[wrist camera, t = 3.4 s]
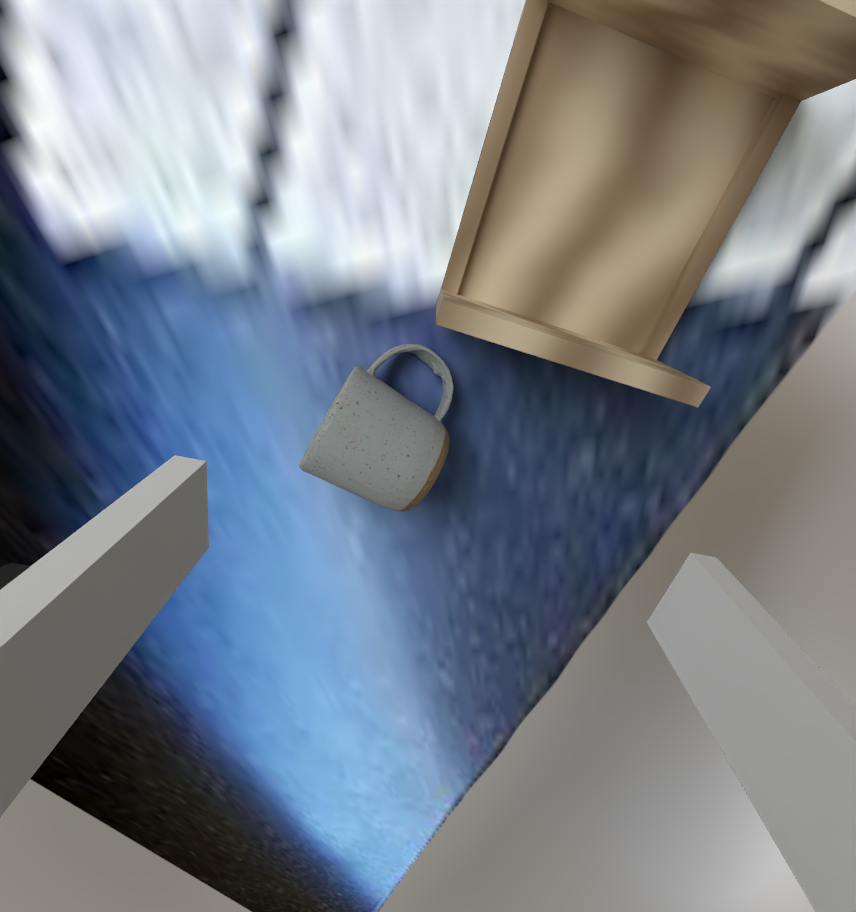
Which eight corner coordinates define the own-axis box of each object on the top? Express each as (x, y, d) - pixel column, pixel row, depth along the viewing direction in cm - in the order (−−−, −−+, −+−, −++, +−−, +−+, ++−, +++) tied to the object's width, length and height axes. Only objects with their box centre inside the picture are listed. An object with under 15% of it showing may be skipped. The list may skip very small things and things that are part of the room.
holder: (435, 306, 27) (436, 324, 21) (534, -31, 20) (584, -171, 13) (637, 370, 29) (698, 407, 22) (794, 82, 22) (952, 8, 15)
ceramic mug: (405, 484, 34) (398, 543, 27) (314, 436, 32) (282, 485, 25) (479, 377, 30) (494, 413, 23) (380, 314, 28) (364, 333, 21)
